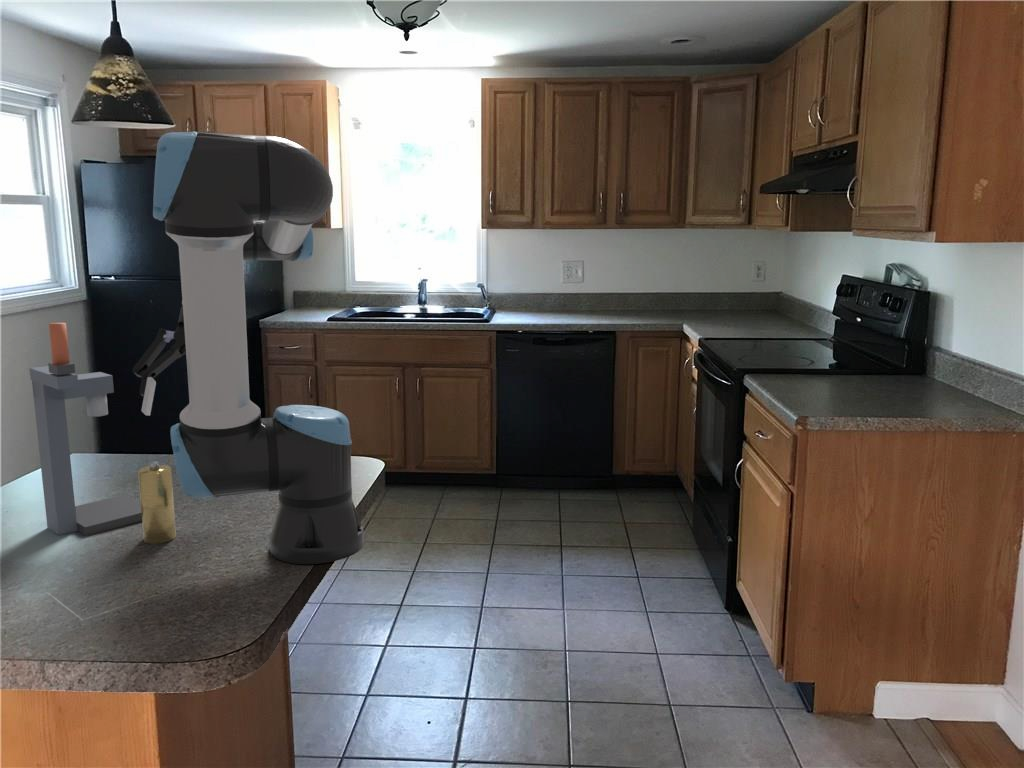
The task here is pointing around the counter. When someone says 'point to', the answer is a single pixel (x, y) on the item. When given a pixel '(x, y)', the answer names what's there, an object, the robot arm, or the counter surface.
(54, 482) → the press
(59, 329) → the lever
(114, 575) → the counter surface
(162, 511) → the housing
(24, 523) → the counter surface
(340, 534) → the robot arm
